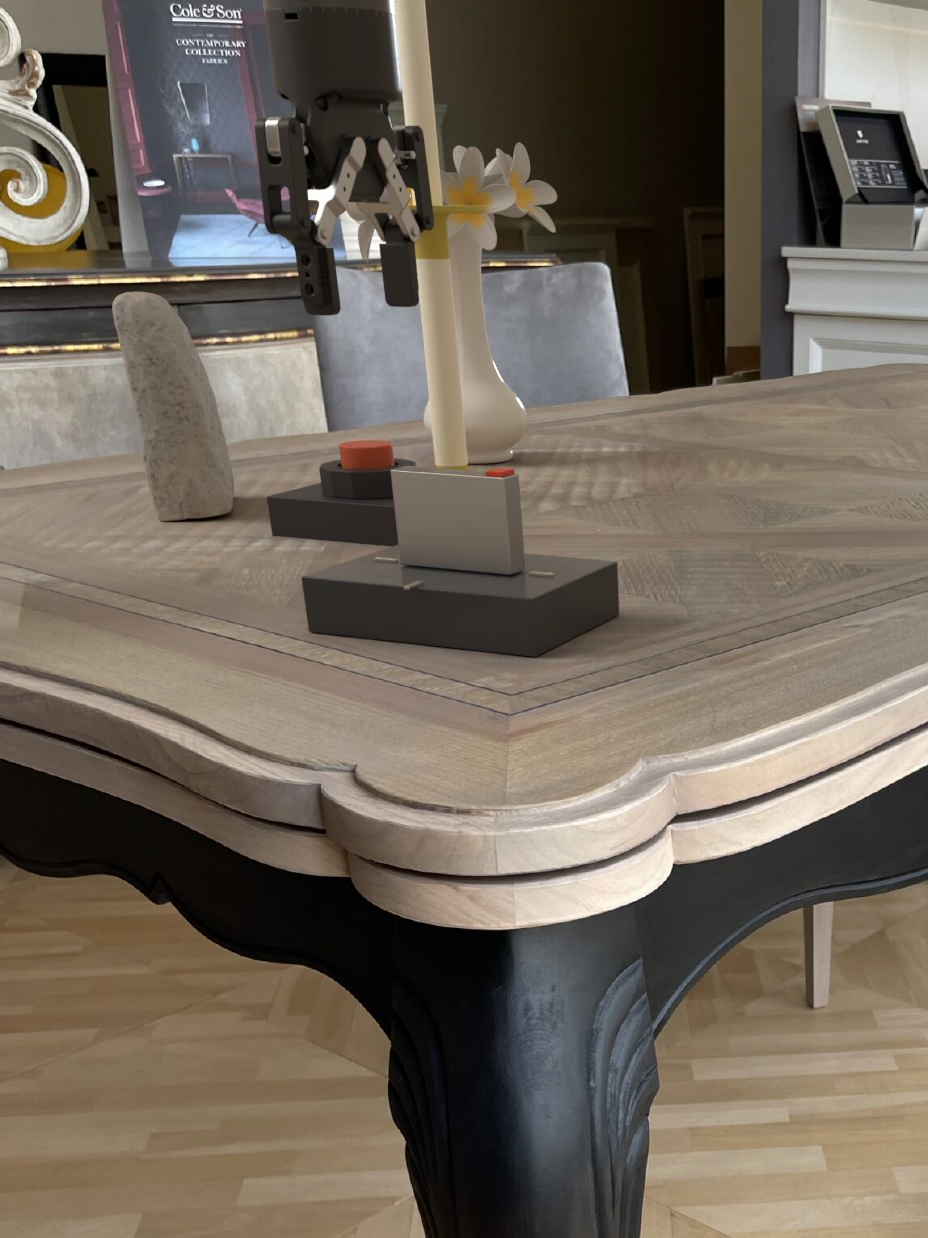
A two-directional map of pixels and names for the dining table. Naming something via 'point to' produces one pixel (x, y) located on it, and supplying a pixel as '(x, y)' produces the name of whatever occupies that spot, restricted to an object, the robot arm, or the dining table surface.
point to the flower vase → (480, 288)
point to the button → (366, 454)
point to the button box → (340, 507)
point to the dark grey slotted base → (463, 602)
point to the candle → (433, 246)
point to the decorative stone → (173, 411)
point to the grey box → (459, 519)
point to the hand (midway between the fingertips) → (364, 310)
